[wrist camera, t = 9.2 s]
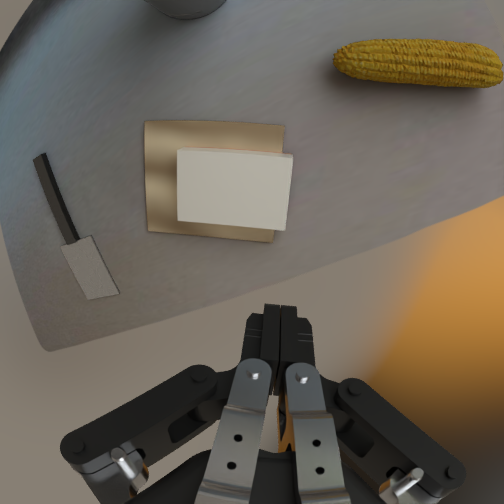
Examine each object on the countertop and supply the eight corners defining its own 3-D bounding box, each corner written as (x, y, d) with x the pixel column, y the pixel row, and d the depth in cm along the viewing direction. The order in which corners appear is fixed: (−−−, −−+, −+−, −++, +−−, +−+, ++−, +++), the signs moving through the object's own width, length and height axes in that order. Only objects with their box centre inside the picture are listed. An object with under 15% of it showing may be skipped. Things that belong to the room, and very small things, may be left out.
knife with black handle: (28, 164, 36) (23, 166, 35) (57, 145, 34) (51, 147, 33) (89, 298, 46) (85, 302, 45) (120, 292, 45) (117, 296, 43)
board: (146, 120, 33) (144, 121, 32) (284, 125, 32) (284, 126, 31) (149, 229, 39) (148, 230, 39) (273, 240, 38) (272, 242, 38)
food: (478, 47, 24) (504, 44, 18) (485, 88, 26) (513, 91, 21) (324, 46, 27) (333, 35, 22) (335, 93, 30) (346, 91, 25)
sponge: (292, 153, 33) (185, 146, 33) (293, 158, 30) (177, 150, 31) (284, 220, 36) (184, 211, 37) (284, 230, 34) (177, 220, 34)
